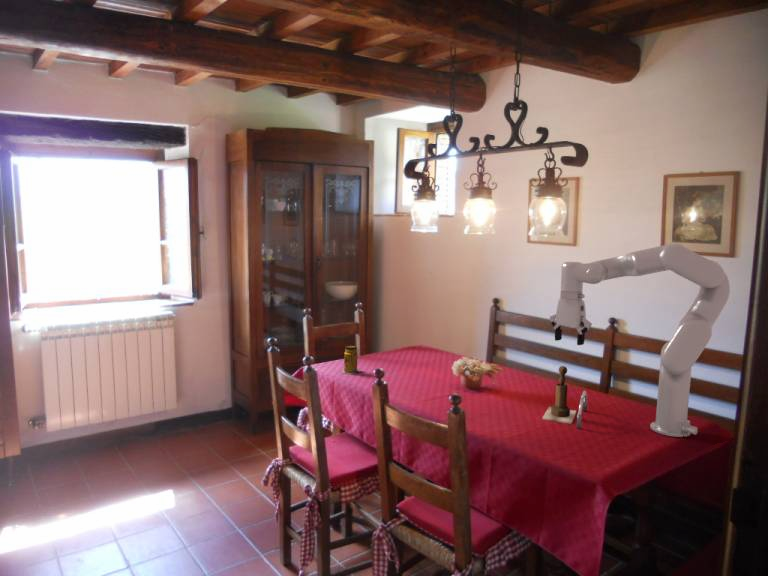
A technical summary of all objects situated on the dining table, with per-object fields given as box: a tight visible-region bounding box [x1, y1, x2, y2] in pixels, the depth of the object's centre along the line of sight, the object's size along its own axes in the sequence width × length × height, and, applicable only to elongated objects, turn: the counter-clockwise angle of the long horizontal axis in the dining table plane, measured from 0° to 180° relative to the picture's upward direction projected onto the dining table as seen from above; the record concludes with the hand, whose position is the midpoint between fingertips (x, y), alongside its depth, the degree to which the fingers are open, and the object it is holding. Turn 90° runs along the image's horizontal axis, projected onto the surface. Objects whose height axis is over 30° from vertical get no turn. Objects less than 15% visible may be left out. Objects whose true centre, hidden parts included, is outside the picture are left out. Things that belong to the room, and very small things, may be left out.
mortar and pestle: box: [550, 365, 571, 417], centre depth 210 cm, size 7×6×18 cm
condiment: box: [340, 345, 364, 376], centre depth 266 cm, size 7×8×12 cm
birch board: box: [542, 406, 577, 425], centre depth 212 cm, size 10×14×1 cm
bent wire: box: [576, 390, 588, 430], centre depth 208 cm, size 1×21×10 cm, turn 155°
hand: (569, 342), depth 211 cm, fingers open, 9 cm apart
